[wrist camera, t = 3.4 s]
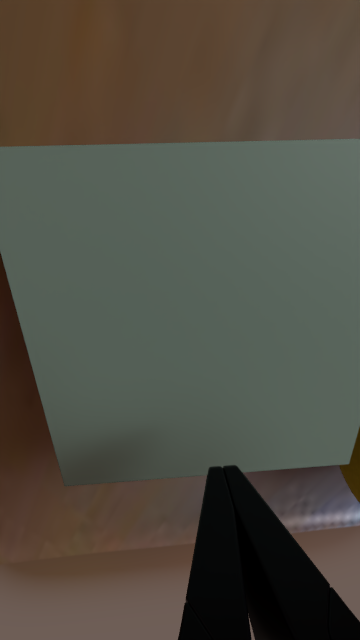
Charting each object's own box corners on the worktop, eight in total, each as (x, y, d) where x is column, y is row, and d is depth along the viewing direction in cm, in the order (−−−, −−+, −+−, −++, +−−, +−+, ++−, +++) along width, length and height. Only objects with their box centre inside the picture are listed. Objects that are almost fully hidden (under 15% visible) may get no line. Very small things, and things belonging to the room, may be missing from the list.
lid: (414, 143, 9) (442, 137, 8) (336, 446, 14) (348, 464, 13) (-9, 152, 8) (-29, 147, 8) (71, 466, 14) (64, 486, 13)
